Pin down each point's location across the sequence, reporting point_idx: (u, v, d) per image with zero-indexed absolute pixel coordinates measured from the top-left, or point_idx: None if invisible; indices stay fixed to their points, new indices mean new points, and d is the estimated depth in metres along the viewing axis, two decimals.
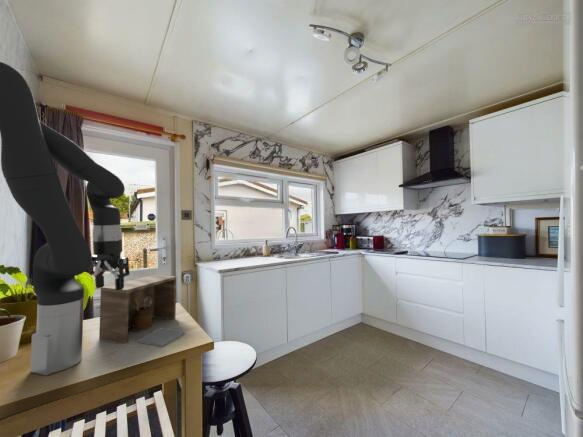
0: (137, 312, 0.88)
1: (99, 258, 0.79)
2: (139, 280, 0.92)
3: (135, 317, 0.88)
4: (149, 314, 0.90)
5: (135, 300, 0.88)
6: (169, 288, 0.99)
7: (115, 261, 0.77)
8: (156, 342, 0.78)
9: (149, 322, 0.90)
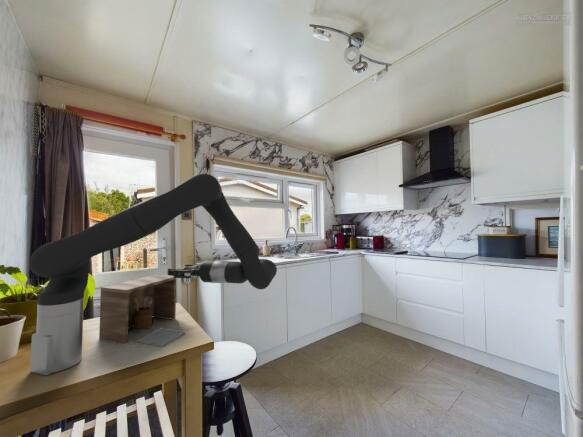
0: (137, 312, 0.88)
1: None
2: (139, 280, 0.92)
3: (135, 317, 0.88)
4: (149, 314, 0.90)
5: (135, 300, 0.88)
6: (169, 288, 0.99)
7: (192, 270, 0.80)
8: (156, 342, 0.78)
9: (149, 322, 0.90)
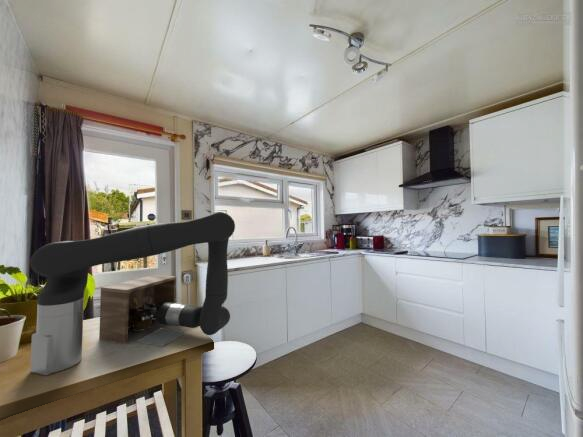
0: None
1: None
2: (139, 280, 0.92)
3: None
4: None
5: (135, 300, 0.88)
6: (169, 288, 0.99)
7: None
8: (156, 342, 0.78)
9: (149, 322, 0.90)
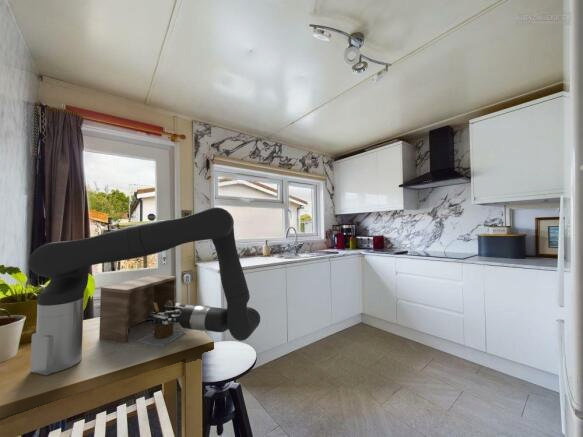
0: None
1: None
2: (139, 280, 0.92)
3: None
4: None
5: (155, 305, 0.80)
6: (169, 288, 0.99)
7: (170, 316, 0.77)
8: (156, 342, 0.78)
9: (171, 329, 0.82)
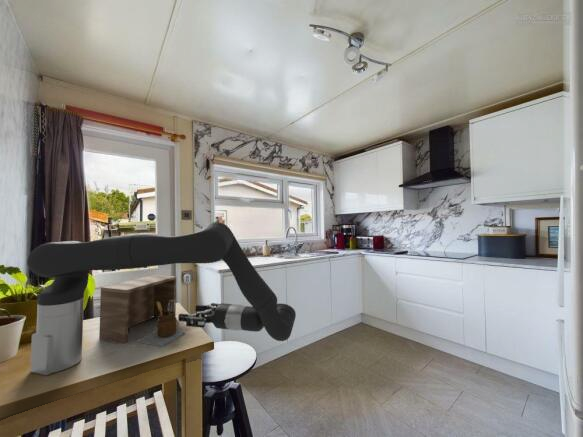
0: (161, 318, 0.81)
1: None
2: (139, 280, 0.92)
3: (159, 323, 0.81)
4: (174, 319, 0.83)
5: (159, 305, 0.81)
6: (169, 288, 0.99)
7: (205, 316, 0.75)
8: (156, 342, 0.78)
9: (174, 328, 0.83)
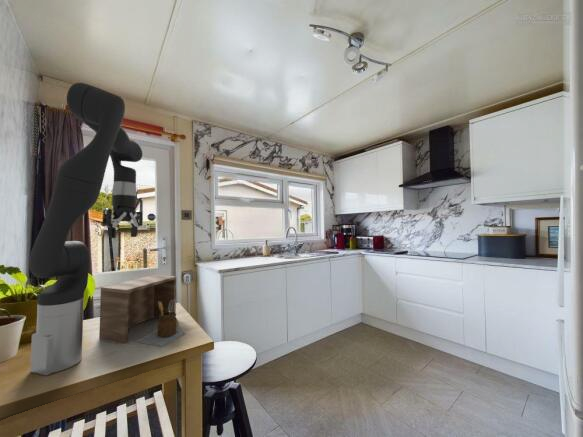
0: (162, 317, 0.81)
1: None
2: (139, 280, 0.92)
3: (160, 323, 0.81)
4: (174, 319, 0.84)
5: (160, 304, 0.81)
6: (169, 288, 0.99)
7: None
8: (156, 342, 0.78)
9: (174, 328, 0.83)
